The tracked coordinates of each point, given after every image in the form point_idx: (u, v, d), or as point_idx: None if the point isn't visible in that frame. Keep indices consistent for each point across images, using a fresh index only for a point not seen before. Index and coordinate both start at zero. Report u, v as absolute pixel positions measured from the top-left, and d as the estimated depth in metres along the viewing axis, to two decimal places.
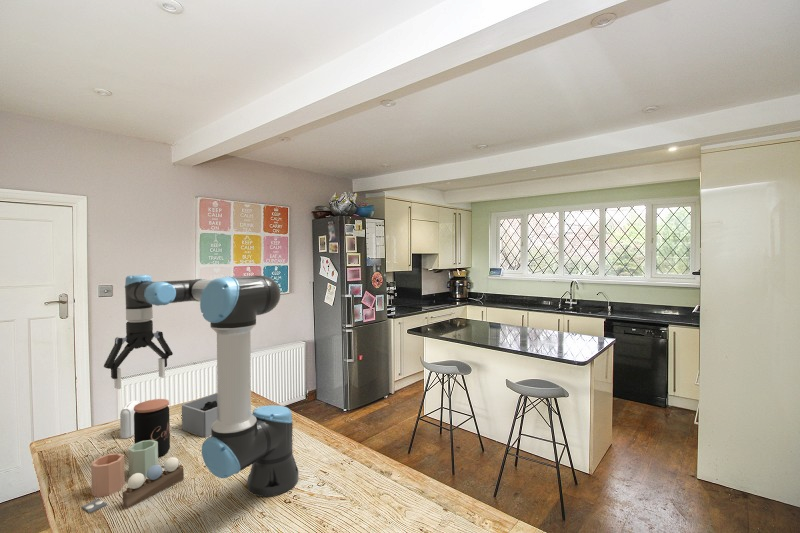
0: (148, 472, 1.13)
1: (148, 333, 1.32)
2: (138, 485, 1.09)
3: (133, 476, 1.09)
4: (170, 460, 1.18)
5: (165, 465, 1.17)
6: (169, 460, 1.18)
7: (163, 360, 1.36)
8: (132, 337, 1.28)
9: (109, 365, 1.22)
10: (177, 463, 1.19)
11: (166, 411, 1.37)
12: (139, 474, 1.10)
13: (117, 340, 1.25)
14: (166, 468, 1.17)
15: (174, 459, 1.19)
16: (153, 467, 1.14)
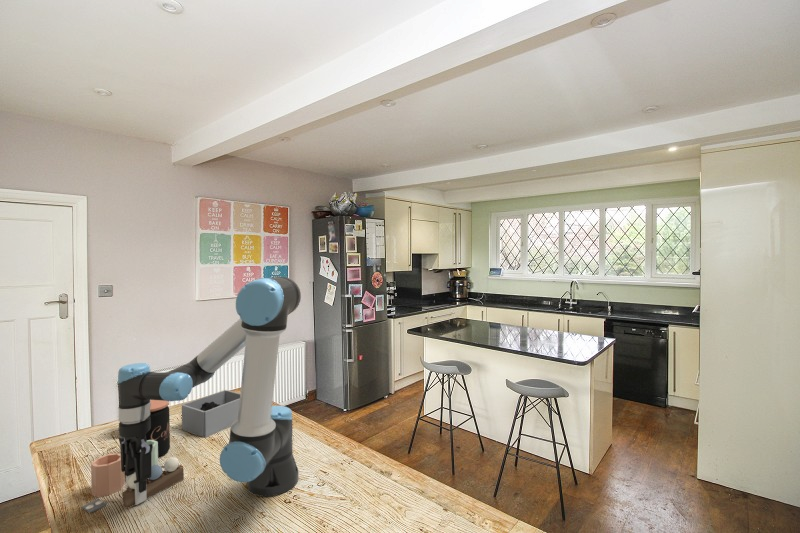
0: None
1: (136, 438, 1.08)
2: None
3: (133, 476, 1.09)
4: (170, 460, 1.18)
5: (165, 465, 1.17)
6: (169, 460, 1.18)
7: (135, 483, 1.08)
8: None
9: (121, 468, 1.12)
10: (177, 463, 1.19)
11: (166, 411, 1.37)
12: None
13: None
14: (166, 468, 1.17)
15: (174, 459, 1.19)
16: (153, 467, 1.14)
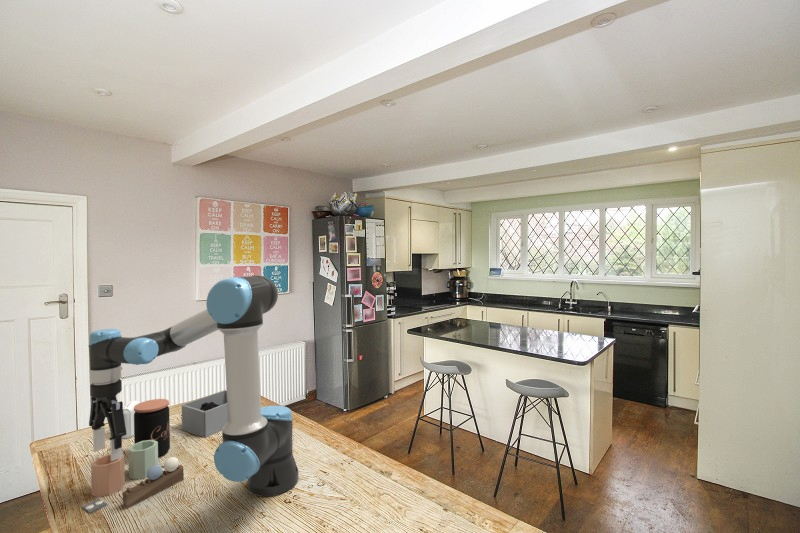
0: (148, 472, 1.13)
1: (106, 398, 1.14)
2: None
3: None
4: (170, 460, 1.18)
5: (165, 465, 1.17)
6: (169, 460, 1.18)
7: (110, 440, 1.12)
8: (97, 397, 1.16)
9: (89, 423, 1.19)
10: (177, 463, 1.19)
11: (166, 411, 1.37)
12: None
13: None
14: (166, 468, 1.17)
15: (174, 459, 1.19)
16: (153, 467, 1.14)
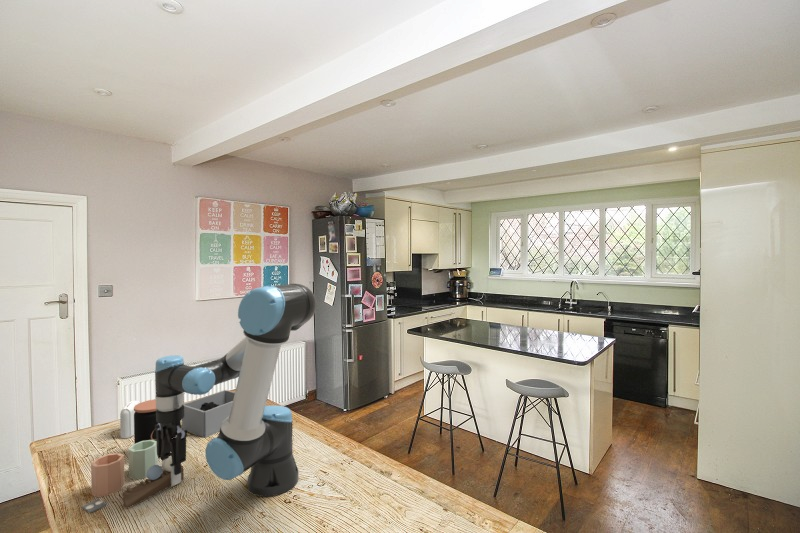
0: (148, 472, 1.13)
1: (172, 424, 1.16)
2: None
3: None
4: (170, 460, 1.18)
5: (165, 465, 1.17)
6: (169, 460, 1.18)
7: (171, 466, 1.17)
8: None
9: (157, 453, 1.20)
10: None
11: None
12: None
13: None
14: (166, 468, 1.17)
15: None
16: (153, 467, 1.14)
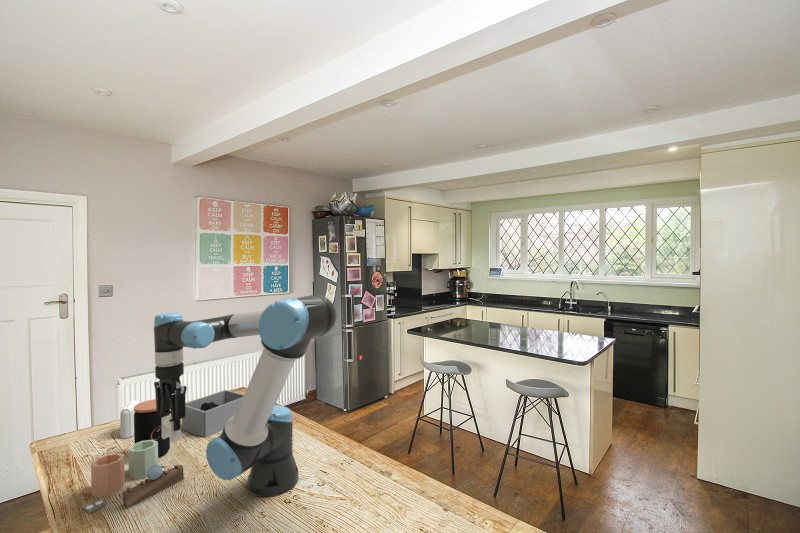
0: (148, 472, 1.13)
1: (171, 380, 1.16)
2: None
3: None
4: (170, 416, 1.18)
5: (164, 421, 1.17)
6: (168, 417, 1.18)
7: (170, 422, 1.16)
8: (160, 379, 1.19)
9: (157, 410, 1.20)
10: None
11: None
12: None
13: None
14: (165, 424, 1.17)
15: None
16: (153, 467, 1.14)
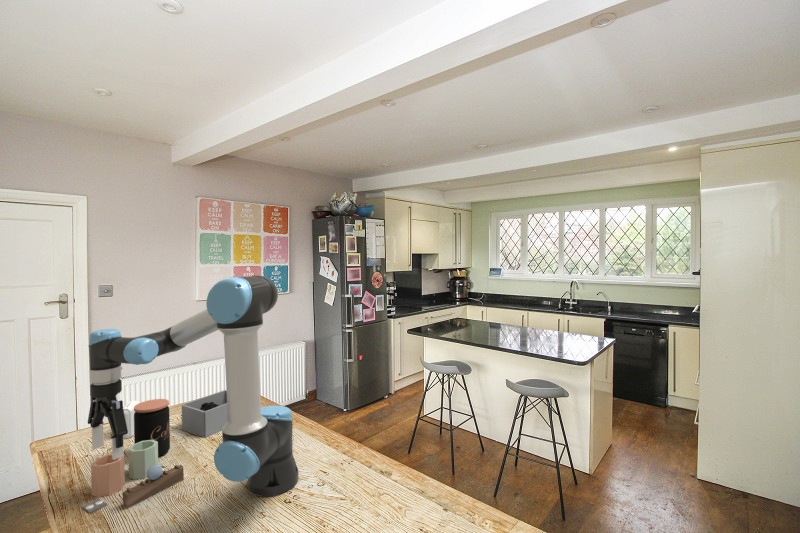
0: (148, 472, 1.13)
1: (106, 399, 1.14)
2: None
3: None
4: None
5: None
6: None
7: (112, 439, 1.12)
8: (97, 397, 1.16)
9: (88, 421, 1.19)
10: None
11: (166, 411, 1.37)
12: None
13: None
14: None
15: None
16: (153, 467, 1.14)
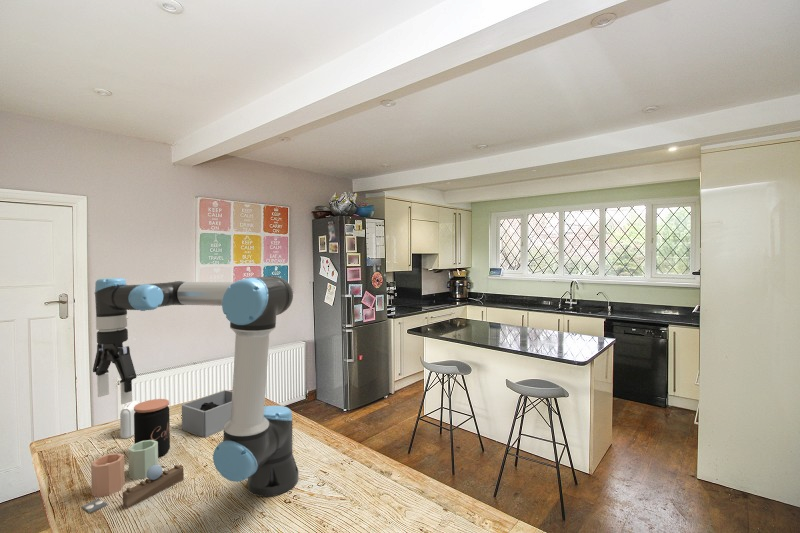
0: (148, 472, 1.13)
1: (112, 346, 1.14)
2: None
3: None
4: None
5: None
6: None
7: (120, 383, 1.12)
8: (104, 346, 1.16)
9: (93, 369, 1.20)
10: None
11: (166, 411, 1.37)
12: None
13: None
14: None
15: None
16: (153, 467, 1.14)
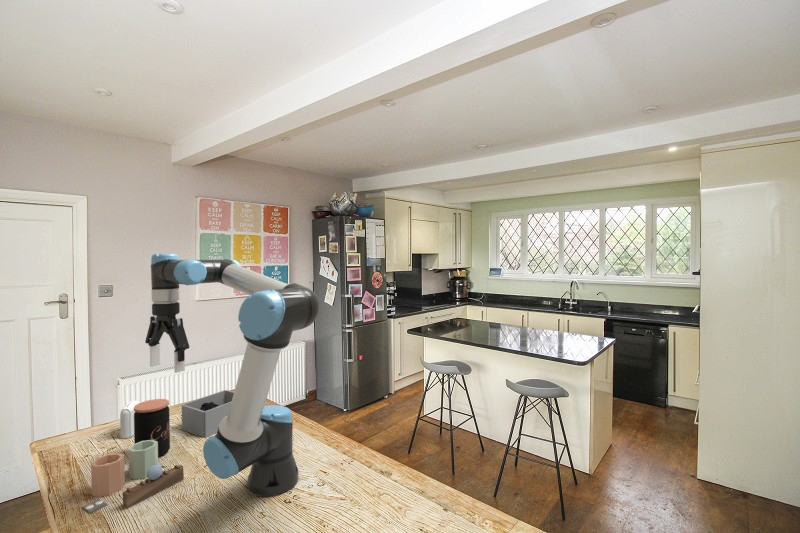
0: (148, 472, 1.13)
1: (166, 318, 1.20)
2: None
3: None
4: None
5: None
6: None
7: (174, 353, 1.18)
8: (157, 318, 1.22)
9: (146, 340, 1.26)
10: None
11: (166, 411, 1.37)
12: None
13: None
14: None
15: None
16: (153, 467, 1.14)
